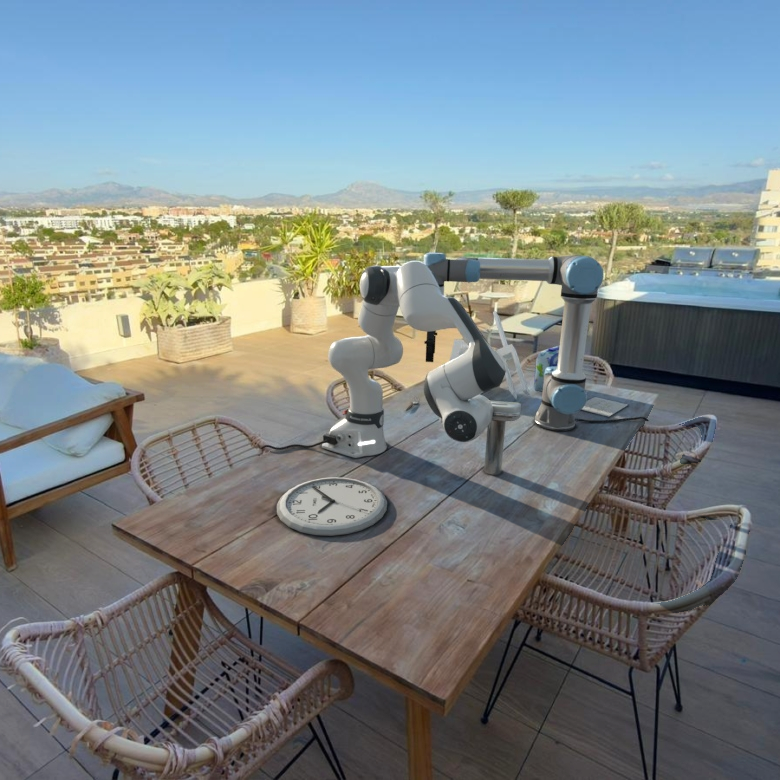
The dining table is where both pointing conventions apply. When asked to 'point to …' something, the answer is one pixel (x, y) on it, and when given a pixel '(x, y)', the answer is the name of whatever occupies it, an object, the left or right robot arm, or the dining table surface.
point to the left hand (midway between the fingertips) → (484, 403)
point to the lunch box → (544, 365)
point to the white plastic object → (505, 354)
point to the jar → (494, 447)
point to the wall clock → (331, 506)
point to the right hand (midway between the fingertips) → (430, 357)
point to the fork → (413, 403)
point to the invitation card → (603, 406)
